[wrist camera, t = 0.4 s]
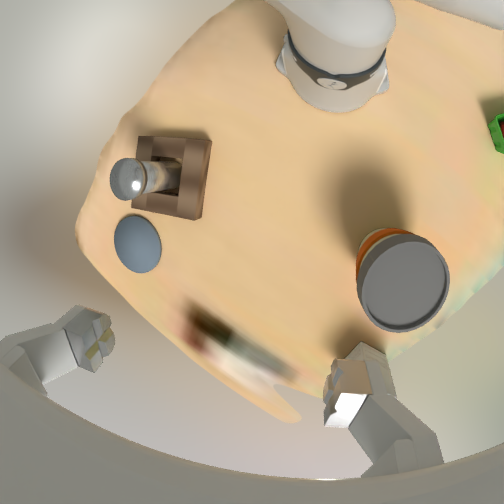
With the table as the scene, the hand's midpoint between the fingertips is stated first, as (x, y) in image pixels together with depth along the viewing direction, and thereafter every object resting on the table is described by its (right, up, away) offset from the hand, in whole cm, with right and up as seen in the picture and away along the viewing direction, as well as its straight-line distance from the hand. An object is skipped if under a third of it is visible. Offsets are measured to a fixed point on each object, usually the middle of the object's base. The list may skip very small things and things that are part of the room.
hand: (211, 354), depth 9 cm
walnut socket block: (-13, +17, +38) cm, 44 cm away
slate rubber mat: (-22, +5, +44) cm, 50 cm away
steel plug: (-13, +17, +38) cm, 44 cm away
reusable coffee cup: (+23, +3, +34) cm, 41 cm away
